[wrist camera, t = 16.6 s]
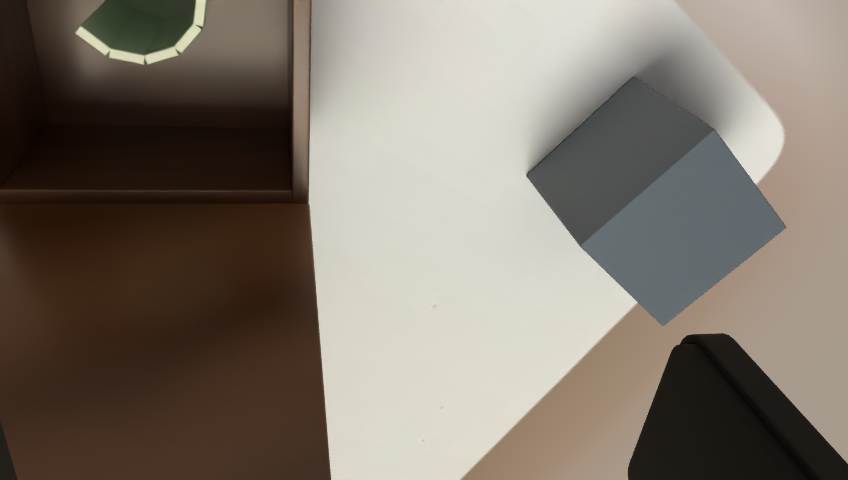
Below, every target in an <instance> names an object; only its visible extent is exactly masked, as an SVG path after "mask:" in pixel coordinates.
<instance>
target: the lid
mask: <svg viewBox="0 0 848 480" xmlns="http://www.w3.org/2000/svg"><path fill="white" fill-rule="evenodd" d="M0 420H1V424H2V427H3V431H4V434H5V438H6V441H7V445H8V448H9V452H10V455H11V459H12V462H13V466H14V469H15V472H16V476H17V479H18V480H331V473H330V461H329V448H328V435H327V423H326V410H325V397H324V384H323V372H322V359H321V346H320V334H319V321H318V308H317V296H316V283H315V270H314V258H313V245H312V232H311V219H310V207H309V204H0Z"/></svg>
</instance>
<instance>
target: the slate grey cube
mask: <svg viewBox="0 0 848 480" xmlns="http://www.w3.org/2000/svg"><path fill="white" fill-rule="evenodd" d="M527 178H528V179H529V180H530V182H531V183H532V184H533V185H534V187H535V188H536V189H537V191H538V192H539V193H540V195H541V196H542V197H543V198H544V200H545V201H546V202H547V204H548V205H549V206H550V208H551V209H552V210H553V212H554V213H555V214H556V215H557V217H558V218H559V219H560V221H561V222H562V223H563V225H564V226H565V227H566V229H567V230H568V231H569V232H570V234H571V235H572V236H573V238H574V239H575V240H576V242H577V243H578V244H579V246H580V247H581V248H582V249H583V250H584V251H585V252H587V253H588V254H589V255H590V256H591V257H592V258H593V259H594V260H595V261H596V262H597V263H598V264H599V265H600V266H601V267H602V268H603V269H604V270H605V271H606V272H607V273H608V274H609V275H610V276H611V277H612V278H613V279H614V280H615V281H616V282H617V283H618V284H620V285H621V286H622V287H623V288H624V289H625V290H626V291H627V292H628V293H629V294H630V295H631V296H632V297H633V298H634V299H635V300H636V301H637V302H638V303H639V304H640V305H641V306H642V307H643V308H644V309H645V310H646V311H647V312H648V313H649V314H651V315H652V316H653V317H654V318H655V319H656V320H657V321H658V322H659V323H660V324H661V325H662V326H664V325H665V324H666V323H668V322H669V321H670V320H671V319H673V318H674V317H675V316H676V315H678V314H679V313H680V312H681V311H682V310H684V309H685V308H687V307H688V306H689V305H690V304H691V303H693V302H694V301H695V300H697V299H698V298H699V297H700V296H702V295H703V294H704V293H705V292H707V291H708V290H709V289H710V288H711V287H713V286H714V285H715V284H716V283H718V282H719V281H720V280H722V279H723V278H724V277H725V276H726V275H728V274H729V273H730V272H731V271H733V270H734V269H735V268H737V267H738V266H739V265H740V264H741V263H743V262H744V261H745V260H747V259H748V258H749V257H750V256H751V255H753V254H754V253H755V252H756V251H758V250H759V249H760V248H762V247H763V246H764V245H765V244H767V243H768V242H769V241H770V240H772V239H773V238H774V237H775V236H777V235H778V234H779V233H780V232H782V231H783V230H784V229H785V228H786V226H785V225H784V223H783V222H782V220H781V219H780V218H779V216H778V215H777V213H776V212H775V211H774V209H773V208H772V207H771V205H770V204H769V203H768V201H767V200H766V198H765V197H764V196H763V194H762V193H761V192H760V190H759V189H758V188H757V186H756V185H755V183H754V182H753V181H752V179H751V178H750V177H749V175H748V174H747V173H746V171H745V170H744V168H743V167H742V166H741V164H740V163H739V162H738V160H737V159H736V158H735V156H734V155H733V153H732V152H731V151H730V149H729V148H728V147H727V145H726V144H725V143H724V141H723V140H722V138H721V137H720V136H719V134H718V133H717V132H716V130H715V129H714V128H712V127H710V126H709V125H707V124H706V123H704V122H703V121H701V120H700V119H698V118H697V117H695V116H694V115H692V114H690V113H689V112H687V111H686V110H684V109H683V108H681V107H680V106H678V105H677V104H675V103H674V102H672V101H670V100H669V99H667V98H666V97H664V96H663V95H661V94H660V93H658V92H657V91H655V90H653V89H652V88H650V87H649V86H647V85H646V84H644V83H643V82H641V81H640V80H638V79H637V78H635V77H633V78H631V79H630V80H629V81H628V82H627V83H626V84H625V85H624V86H623V87H622V88H621V89H620V90H618V91H617V92H616V93H615V94H614V95H613V96H612V97H611V98H610V99H609V100H608V101H607V102H605V103H604V104H603V105H602V106H601V107H600V108H599V109H598V110H597V111H596V112H595V113H594V114H592V115H591V116H590V117H589V118H588V119H587V120H586V121H585V122H584V123H583V124H582V125H581V126H579V127H578V128H577V129H576V130H575V131H574V132H573V133H572V134H571V135H570V136H569V137H568V138H566V139H565V140H564V141H563V142H562V143H561V144H560V145H559V146H558V147H557V148H556V149H554V150H553V151H552V152H551V153H550V154H549V155H548V156H547V157H546V158H545V159H544V160H543V161H541V162H540V163H539V164H538V165H537V166H536V167H535V168H534V169H533V170H532V171H531V172H530V173H528V174H527Z"/></svg>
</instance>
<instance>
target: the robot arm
mask: <svg viewBox="0 0 848 480" xmlns="http://www.w3.org/2000/svg"><path fill="white" fill-rule="evenodd" d="M628 479H629V480H848V464H847V463H846V462H845V461H844V459H842V457H841V456H840V455H839V454H838V453H837V452H836V451H835V450H834V448H833V447H832V446H831V445H830V444H829V443H828V442H827V441H826V440H825V439H824V437H823V436H822V435H821V434H820V433H819V432H818V431H817V430H816V429H815V428H814V426H813V425H811V423H810V422H809V421H808V420H807V419H806V418H805V417H804V416H803V414H802V413H801V412H800V411H799V410H798V409H797V408H796V407H795V406H794V405H793V404H792V402H791V401H790V400H789V399H788V398H787V397H786V396H785V395H784V394H783V393H782V391H780V389H779V388H778V387H777V386H776V385H775V384H774V383H773V382H772V381H771V380H770V378H769V377H768V376H767V375H766V374H765V373H764V372H763V371H762V370H761V368H760V367H759V366H758V365H757V364H756V363H755V362H754V361H753V360H752V359H751V357H749V355H748V354H747V353H746V352H745V351H744V350H743V349H742V348H741V347H740V345H739V344H738V343H737V342H736V341H735V340H734V339H733V338H732V337H730V336H729V335H726V334H723V333H721V334H693V335H688V336H686V337H685V338H684V339H683V340H682V341H681V343H680V345H677V346H675V347H674V348H673V350H672V352H671V354H670V357H669V359H668V362H667V365H666V368H665V370H664V373H663V375H662V378H661V381H660V383H659V386H658V389H657V391H656V394H655V397H654V399H653V402H652V405H651V407H650V410H649V413H648V415H647V418H646V421H645V423H644V426H643V429H642V431H641V434H640V437H639V440H638V442H637V445H636V447H635V450H634V452H633V456H632V458H631V460H630V463H629V467H628ZM0 480H18V479H17V476H16V472H15V469H14V466H13V462H12V459H11V455H10V452H9V448H8V445H7V441H6V438H5V434H4V431H3V427H2V424H1V420H0Z"/></svg>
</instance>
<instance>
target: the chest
mask: <svg viewBox="0 0 848 480" xmlns="http://www.w3.org/2000/svg"><path fill="white" fill-rule="evenodd" d="M104 1H105V0H0V204H308V203H309V141H310V73H311V5H312V0H213V2H212V5H211V7H210V10H209V13H208V16H207V19H206V22H205V25H204V27H203V29H202V31H201V32H200V34H199V35H198V36H197V37H196V38H195V39H194V41H193V42H192V43H191V44H190V45H189V46H188V48H187V49H186V50H185V51H184V52H183V53H180V55H179V56H177V57H173V58H170V59H167V60H163V61H160V62H157V63H153V64H150V65H147V63H145V65H141V64H136V63H131V62H126V61H121V60H117V59H112V58H109V53H108V55H107V56H104V55H103V54H102V53H100V52H99V51H98V50H96V49H95V48H94V47H92V46H91V45H90V44H88V43H87V42H86V41H84V40H83V39H82V38H80V37H79V36H78V35H76V34H75V31H76V30H77V28H78V27H79V26H80V25H81V24H82V23H83V22H84V21H85V20H86V19H87V18H88V17H89V16H90V15H91V14H92V13H93V12H94V11H95V10H96V9H97V8H98V7H99V6H100V5H101V4H102V3H103V2H104Z"/></svg>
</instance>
